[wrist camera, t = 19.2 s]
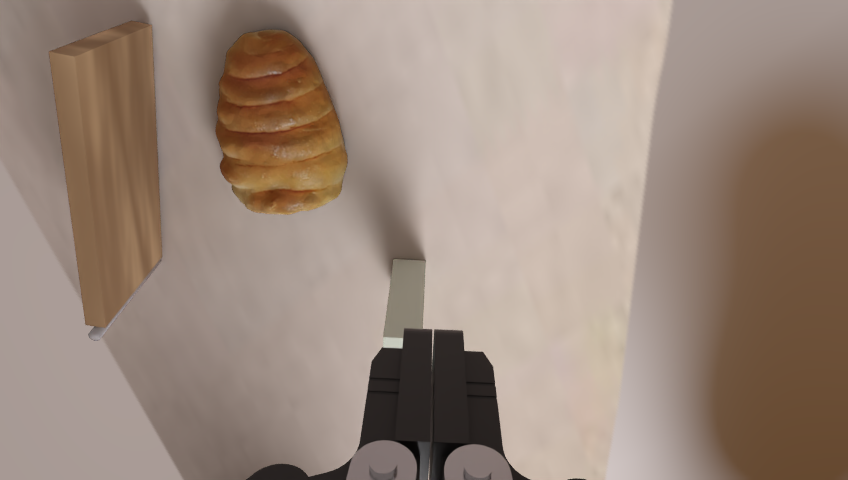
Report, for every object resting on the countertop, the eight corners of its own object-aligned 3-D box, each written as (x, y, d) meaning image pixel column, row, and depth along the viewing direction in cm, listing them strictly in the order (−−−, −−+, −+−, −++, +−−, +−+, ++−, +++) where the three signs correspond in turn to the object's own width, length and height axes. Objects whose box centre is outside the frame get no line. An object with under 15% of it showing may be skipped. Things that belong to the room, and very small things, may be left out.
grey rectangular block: (424, 286, 37) (420, 368, 30) (154, 272, 37) (93, 350, 30) (425, 260, 36) (422, 339, 29) (148, 245, 36) (83, 320, 29)
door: (151, 24, 29) (74, 56, 23) (162, 256, 36) (105, 327, 30) (113, 17, 29) (25, 46, 23) (131, 251, 36) (67, 321, 30)
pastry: (204, 29, 29) (175, 44, 26) (335, 23, 29) (322, 38, 26) (241, 194, 34) (221, 225, 31) (354, 190, 34) (345, 221, 31)
